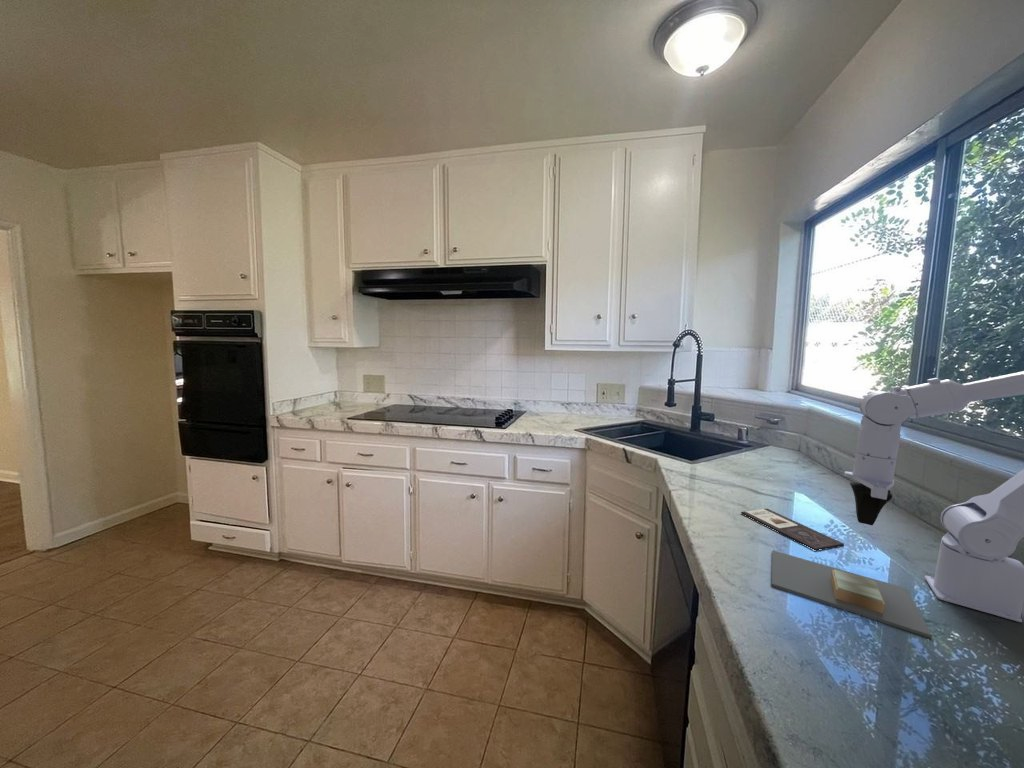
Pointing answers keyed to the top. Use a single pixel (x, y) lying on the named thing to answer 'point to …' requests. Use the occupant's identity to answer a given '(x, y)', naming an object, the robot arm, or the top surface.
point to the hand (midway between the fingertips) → (865, 522)
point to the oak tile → (857, 591)
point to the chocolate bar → (793, 529)
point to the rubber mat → (817, 586)
